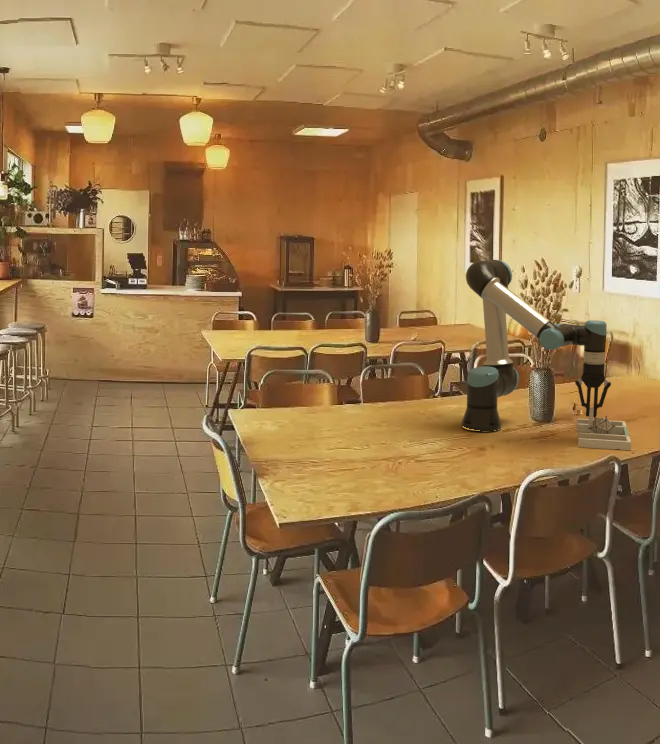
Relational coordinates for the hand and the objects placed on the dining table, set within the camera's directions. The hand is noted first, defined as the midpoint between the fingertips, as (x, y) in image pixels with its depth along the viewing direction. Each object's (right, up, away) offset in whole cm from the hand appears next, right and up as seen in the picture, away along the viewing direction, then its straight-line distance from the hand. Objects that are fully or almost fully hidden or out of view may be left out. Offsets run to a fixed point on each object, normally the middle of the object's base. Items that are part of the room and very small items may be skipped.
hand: (590, 425), depth 305 cm
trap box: (+3, -5, 0) cm, 6 cm away
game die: (+4, -5, 0) cm, 6 cm away
